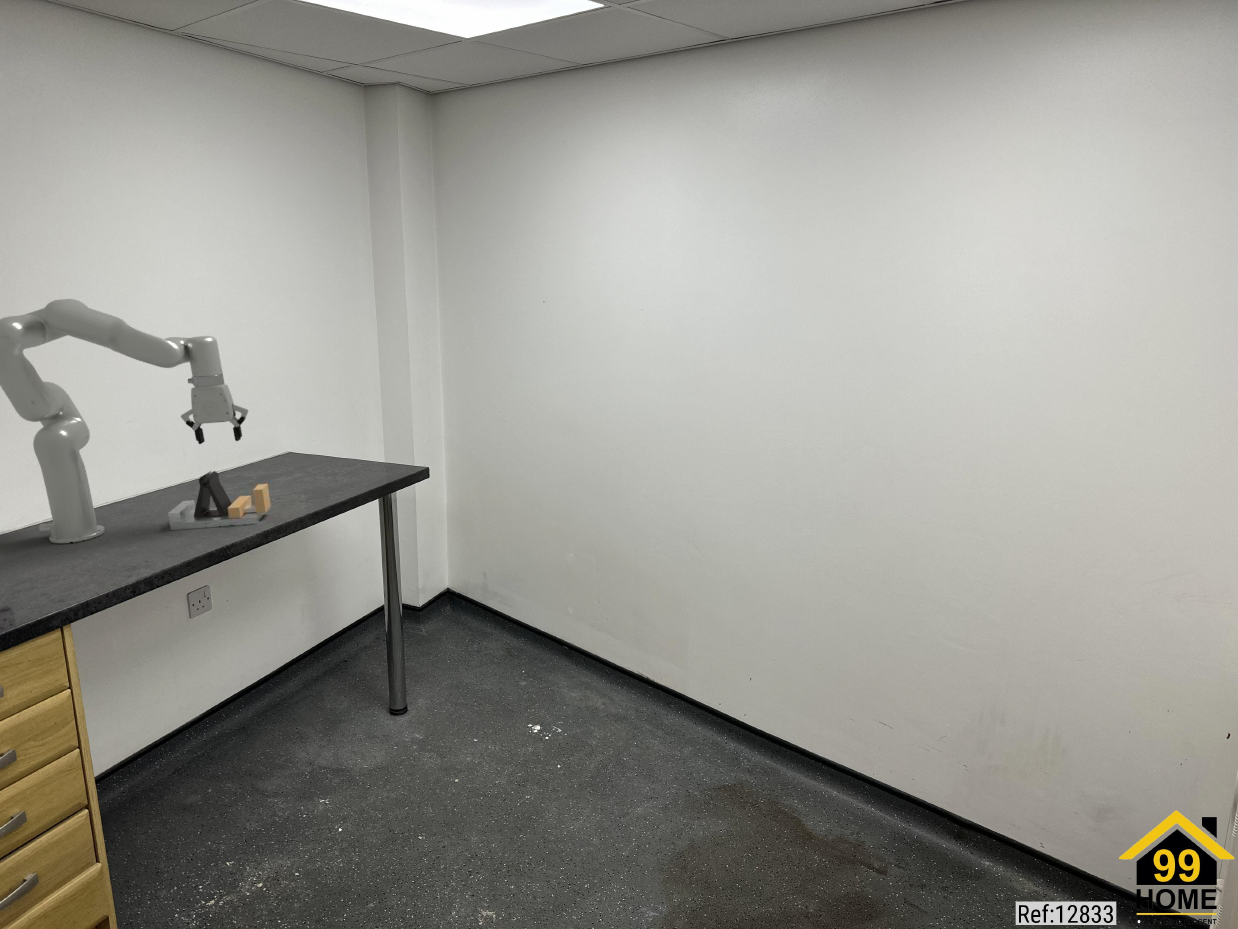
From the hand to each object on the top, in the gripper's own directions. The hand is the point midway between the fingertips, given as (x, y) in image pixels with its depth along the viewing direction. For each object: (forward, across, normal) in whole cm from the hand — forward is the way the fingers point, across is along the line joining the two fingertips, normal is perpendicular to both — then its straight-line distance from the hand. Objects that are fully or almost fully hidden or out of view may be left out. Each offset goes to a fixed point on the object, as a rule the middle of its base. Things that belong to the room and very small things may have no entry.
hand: (220, 441), depth 218 cm
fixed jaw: (+21, -13, 0) cm, 25 cm away
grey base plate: (+23, -4, 0) cm, 23 cm away
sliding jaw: (+21, +5, 0) cm, 22 cm away
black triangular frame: (+21, -5, 0) cm, 22 cm away
